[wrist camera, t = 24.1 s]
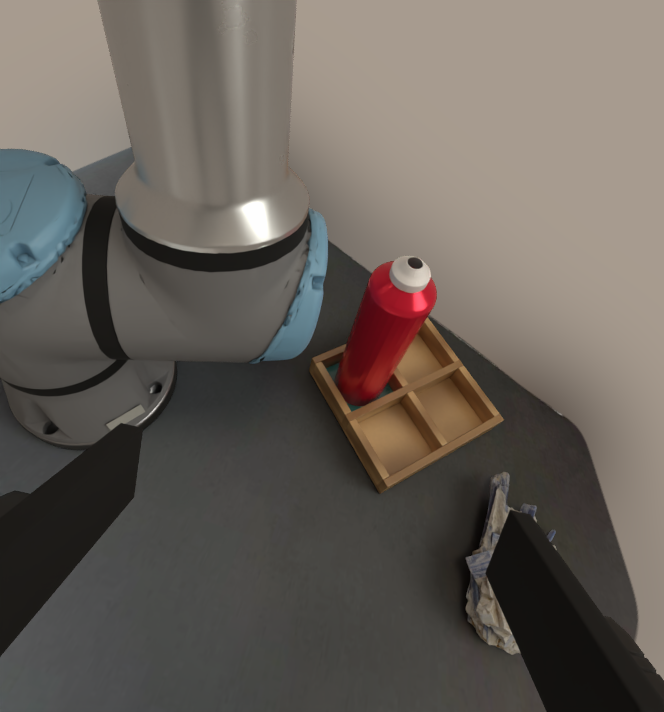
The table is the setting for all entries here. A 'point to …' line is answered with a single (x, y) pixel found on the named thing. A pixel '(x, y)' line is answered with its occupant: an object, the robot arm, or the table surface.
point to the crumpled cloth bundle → (480, 594)
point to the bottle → (384, 327)
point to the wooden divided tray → (410, 410)
